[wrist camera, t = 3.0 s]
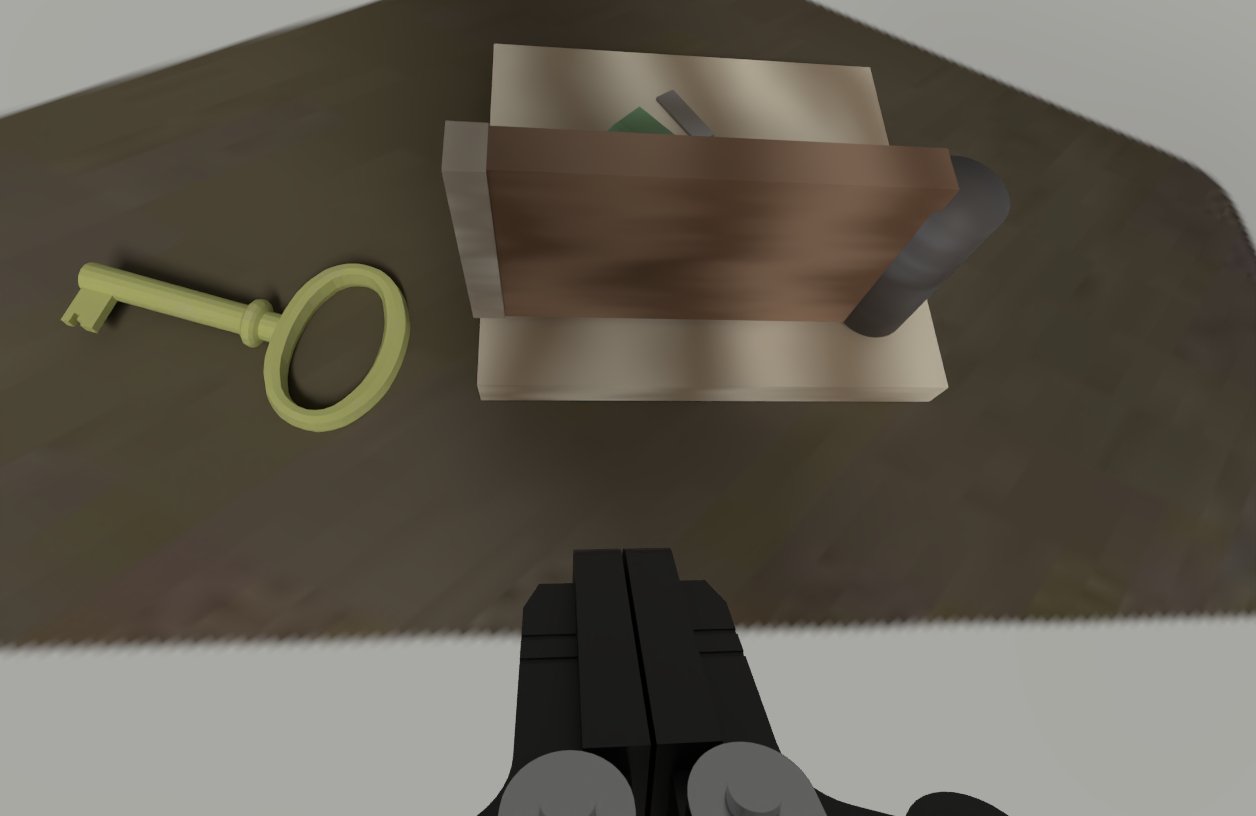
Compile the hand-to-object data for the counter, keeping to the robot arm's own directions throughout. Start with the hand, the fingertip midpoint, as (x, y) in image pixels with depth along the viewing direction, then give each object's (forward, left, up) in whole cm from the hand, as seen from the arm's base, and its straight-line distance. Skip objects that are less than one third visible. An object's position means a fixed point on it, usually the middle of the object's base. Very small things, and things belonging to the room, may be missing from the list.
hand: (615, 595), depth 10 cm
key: (-13, +12, -15) cm, 23 cm away
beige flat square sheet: (+6, +18, -14) cm, 24 cm away
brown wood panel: (+5, +13, -12) cm, 18 cm away
